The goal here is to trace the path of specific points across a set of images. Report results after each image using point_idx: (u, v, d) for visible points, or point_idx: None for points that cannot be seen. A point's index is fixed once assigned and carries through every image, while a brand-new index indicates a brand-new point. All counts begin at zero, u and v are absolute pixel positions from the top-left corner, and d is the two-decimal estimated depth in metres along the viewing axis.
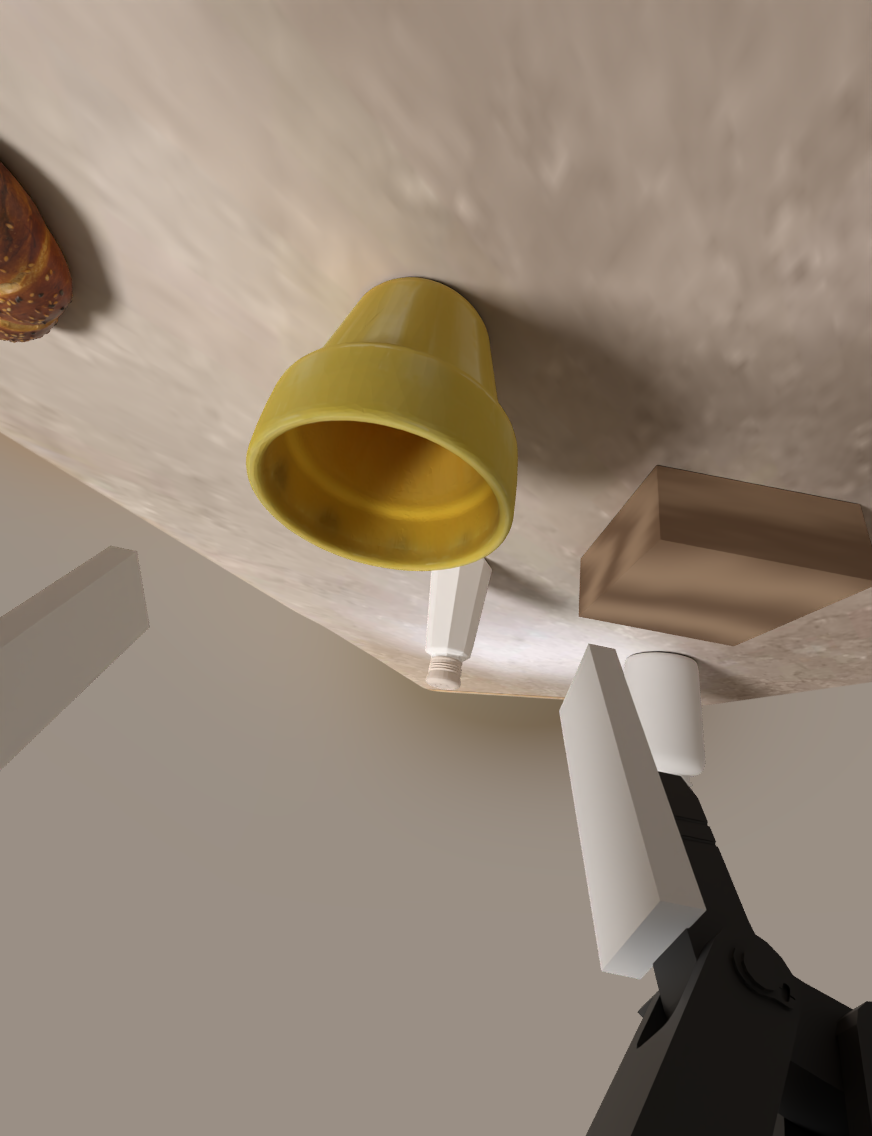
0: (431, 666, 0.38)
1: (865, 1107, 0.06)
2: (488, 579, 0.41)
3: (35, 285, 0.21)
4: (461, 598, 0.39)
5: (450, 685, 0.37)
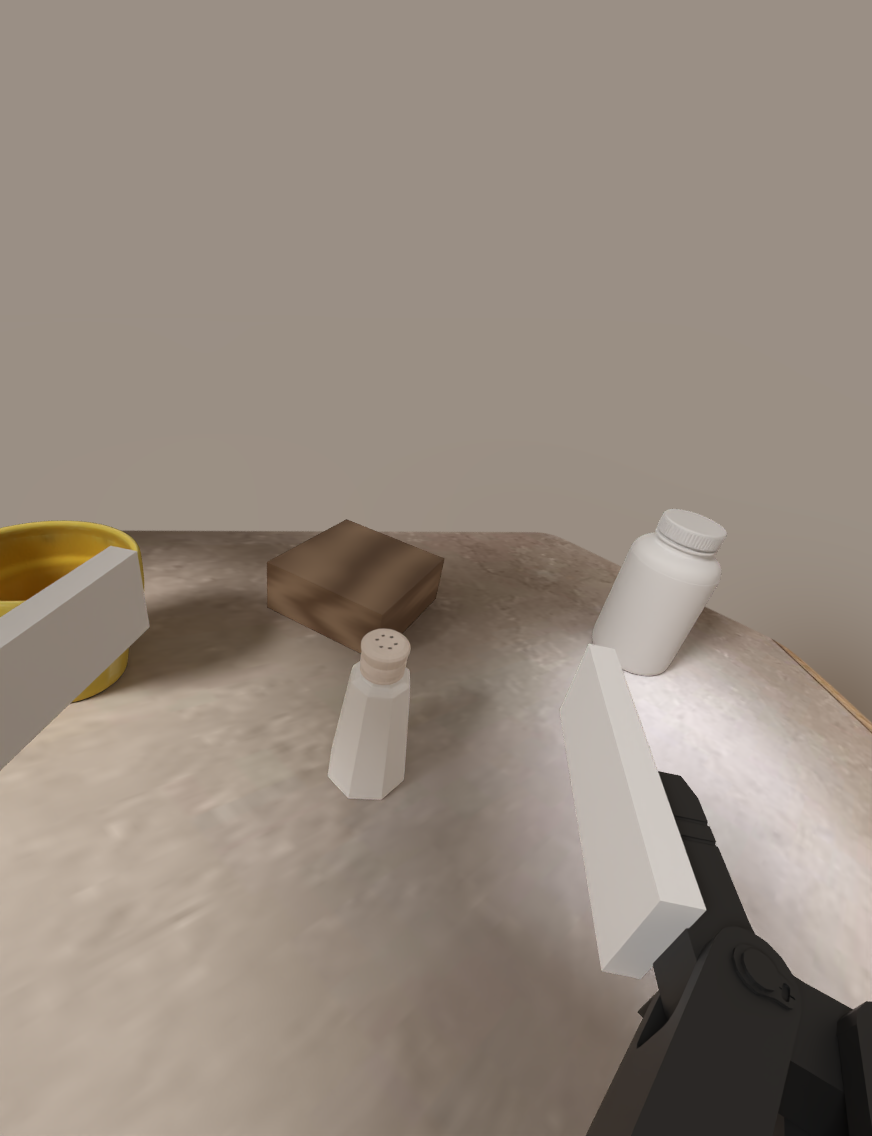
0: (365, 666, 0.26)
1: (865, 1107, 0.06)
2: None
3: None
4: None
5: (380, 631, 0.27)
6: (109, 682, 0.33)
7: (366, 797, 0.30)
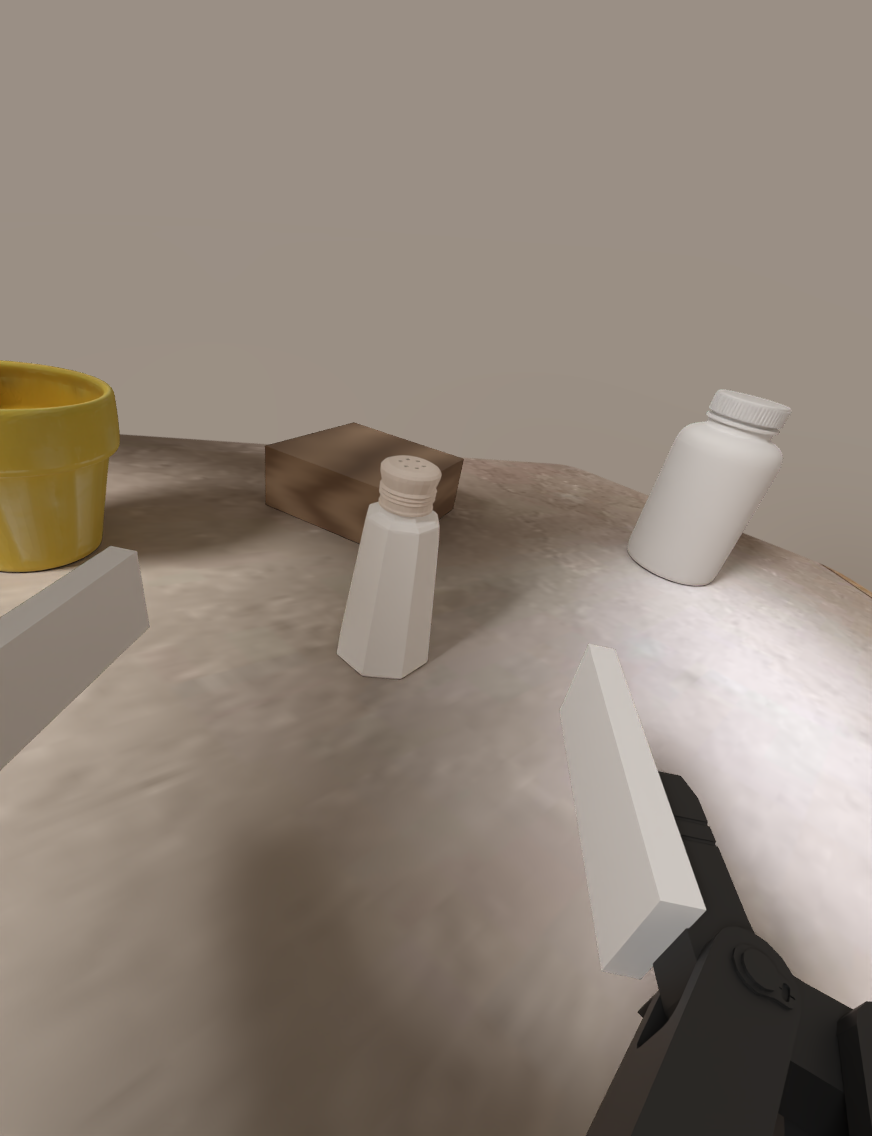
0: (385, 492, 0.21)
1: (865, 1107, 0.06)
2: None
3: None
4: None
5: (403, 456, 0.22)
6: (78, 553, 0.28)
7: (383, 674, 0.25)
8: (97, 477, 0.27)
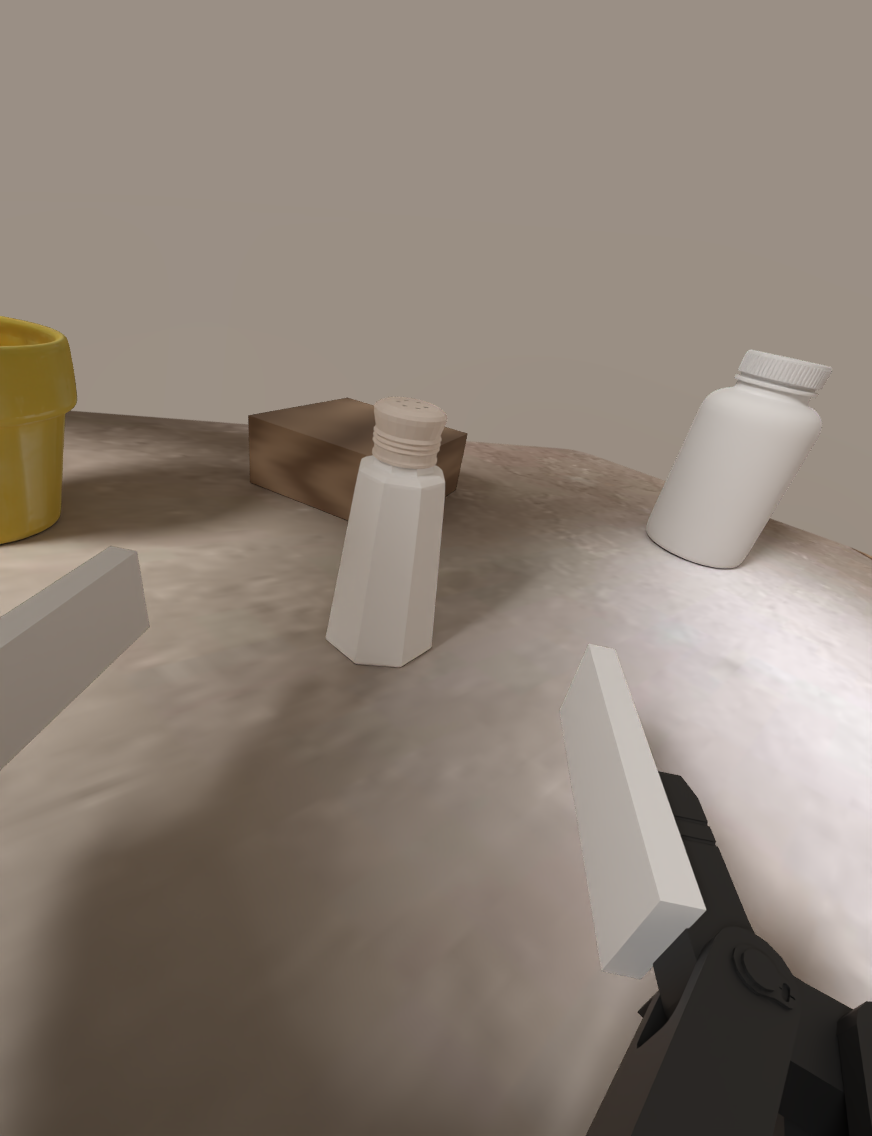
0: (380, 438, 0.18)
1: (865, 1107, 0.06)
2: None
3: None
4: None
5: (401, 398, 0.19)
6: (29, 528, 0.25)
7: (380, 662, 0.21)
8: (49, 438, 0.24)
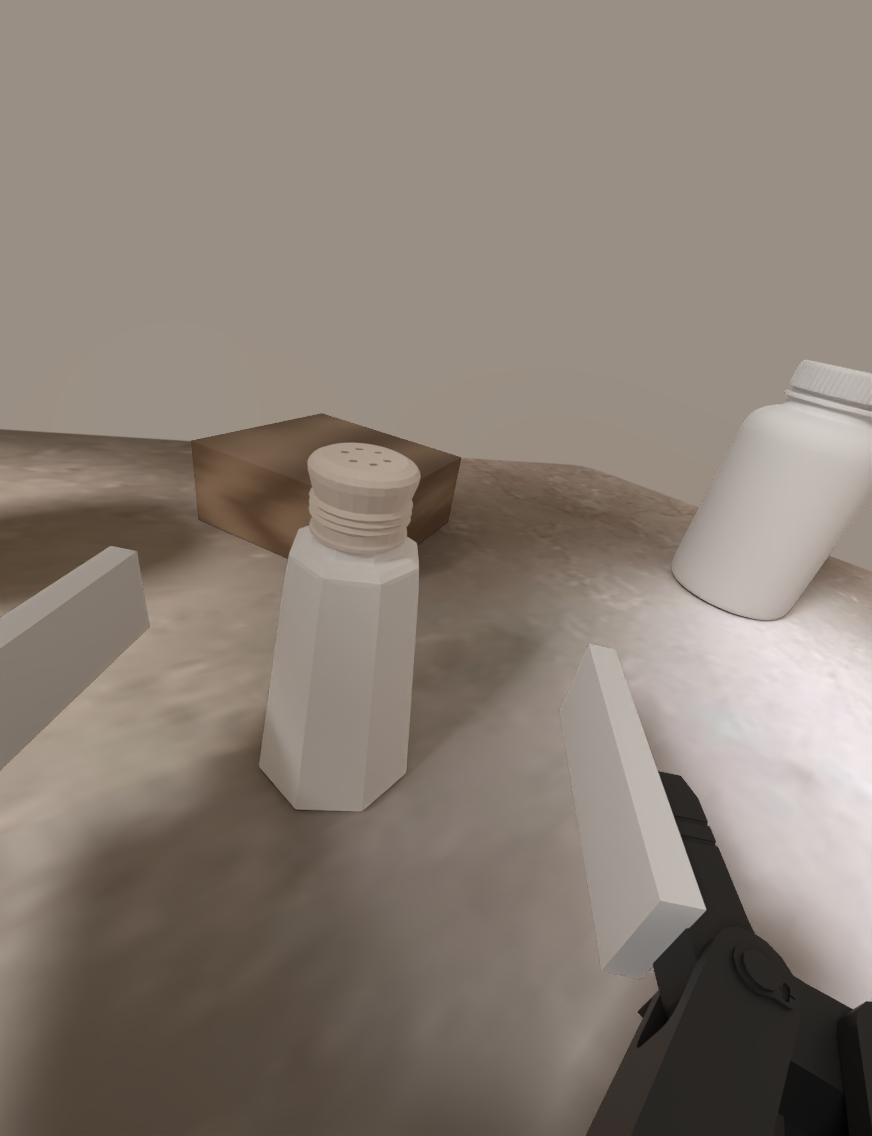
0: (317, 509, 0.12)
1: (865, 1107, 0.06)
2: None
3: None
4: None
5: (353, 444, 0.12)
6: None
7: (332, 807, 0.15)
8: None
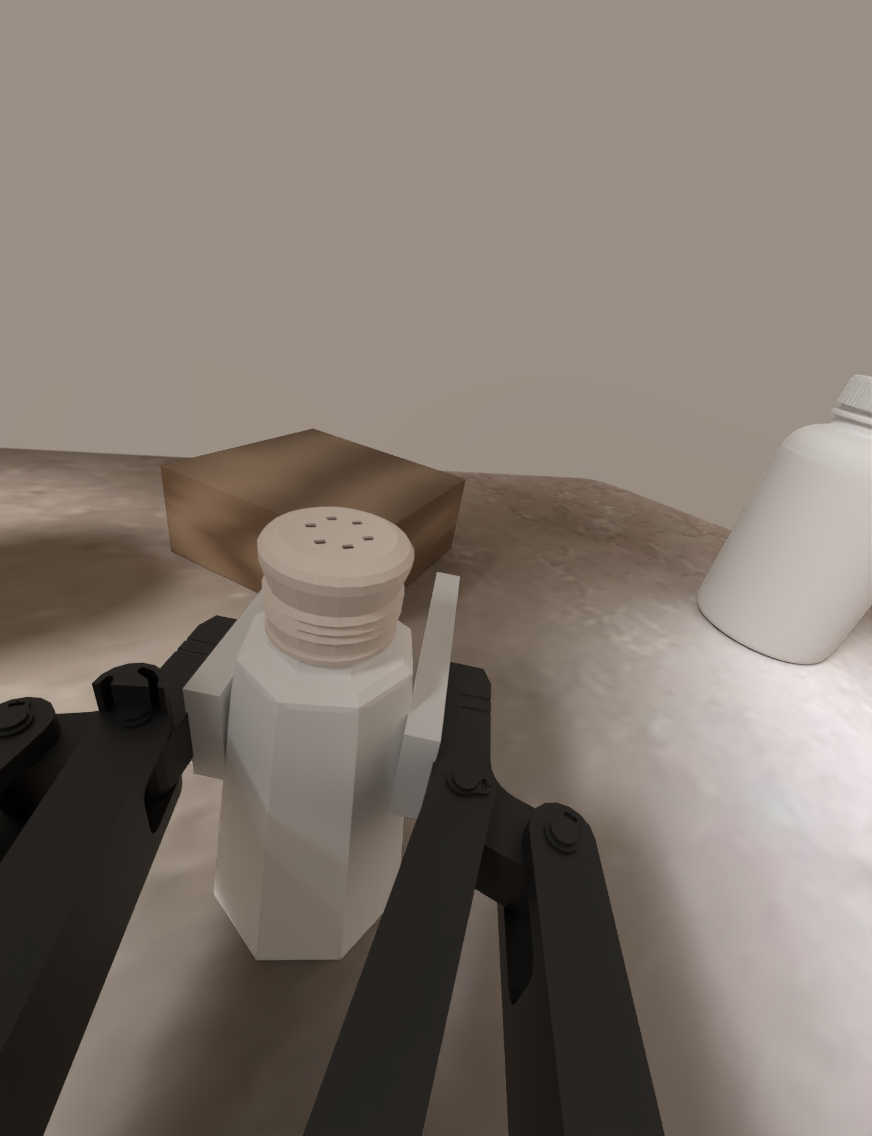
0: (271, 606, 0.08)
1: (535, 889, 0.08)
2: None
3: None
4: None
5: (324, 509, 0.09)
6: None
7: (302, 956, 0.12)
8: None
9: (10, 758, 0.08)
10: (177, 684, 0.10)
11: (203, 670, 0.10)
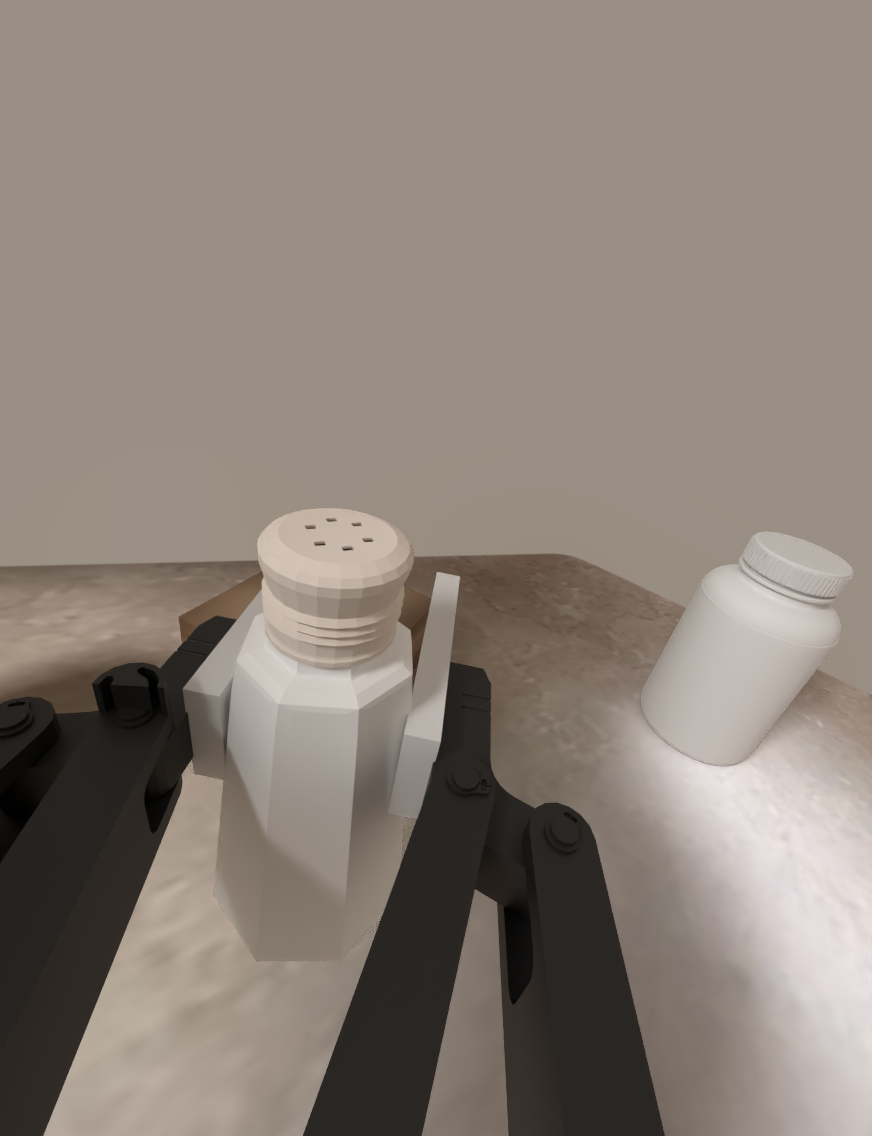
0: (271, 607, 0.08)
1: (534, 889, 0.08)
2: None
3: None
4: None
5: (324, 511, 0.09)
6: None
7: (302, 957, 0.12)
8: None
9: (10, 758, 0.08)
10: (177, 684, 0.10)
11: (203, 670, 0.10)
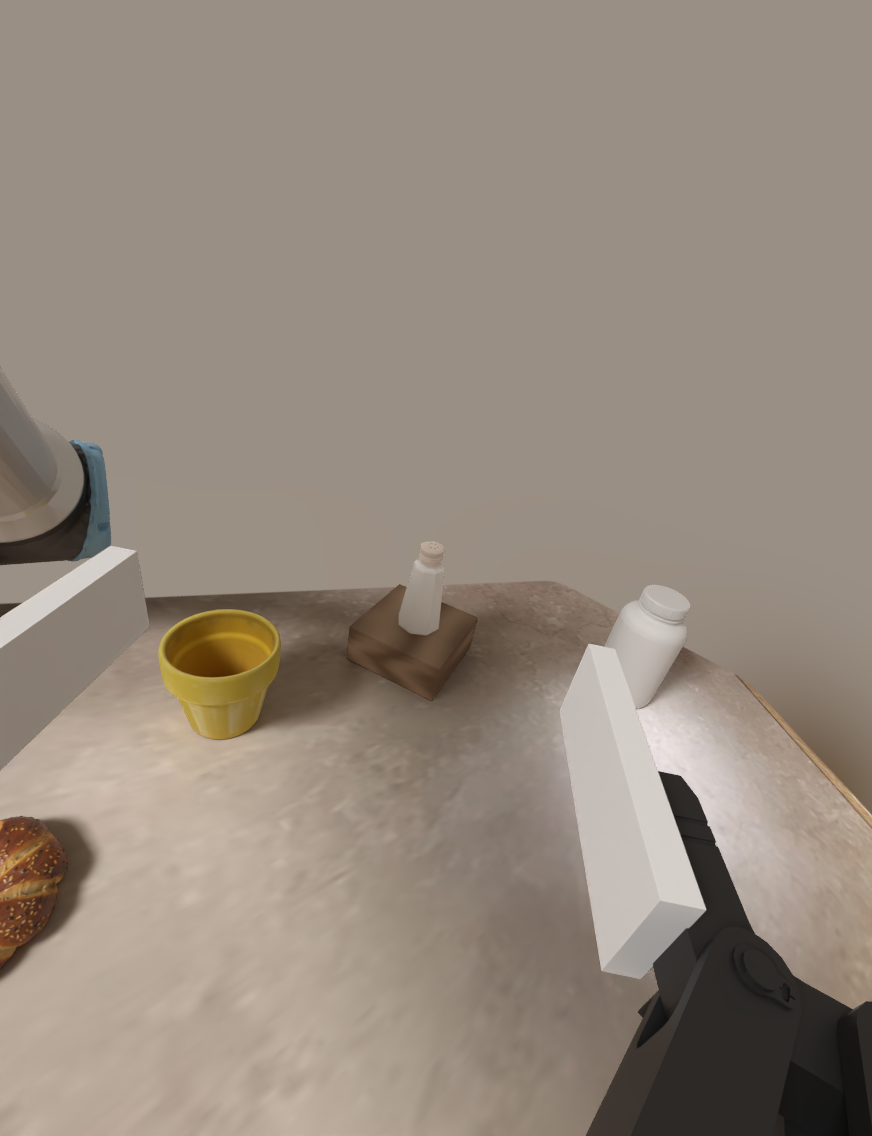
0: (422, 557, 0.54)
1: (865, 1107, 0.06)
2: None
3: (49, 842, 0.34)
4: None
5: (429, 542, 0.54)
6: (254, 722, 0.48)
7: (419, 633, 0.57)
8: None
9: None
10: None
11: None
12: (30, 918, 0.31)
